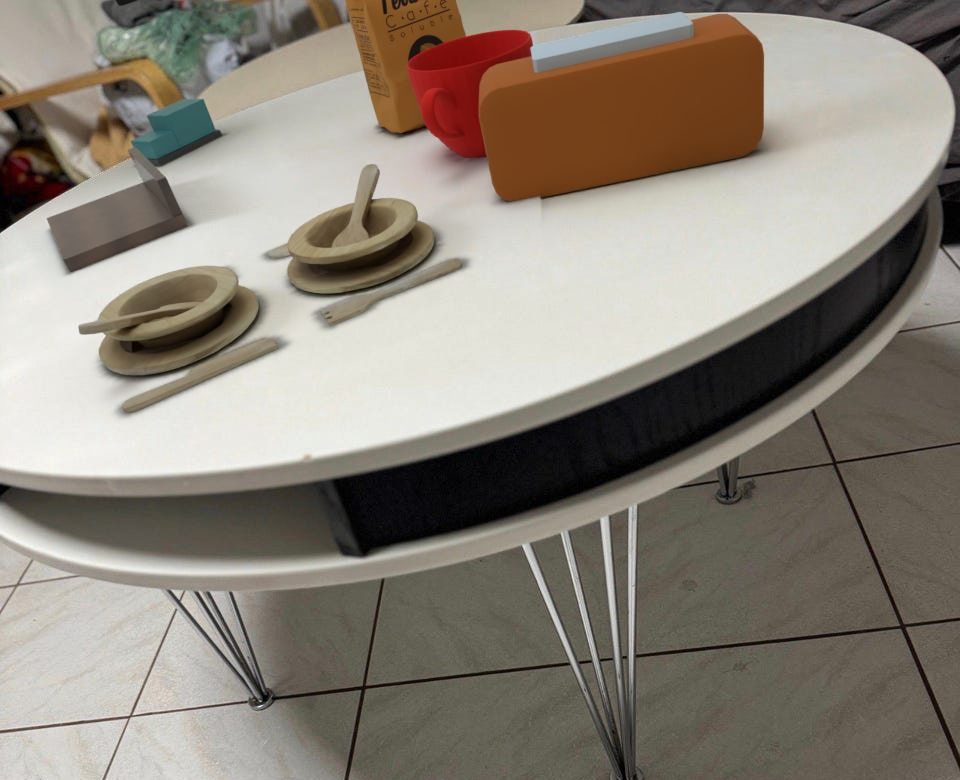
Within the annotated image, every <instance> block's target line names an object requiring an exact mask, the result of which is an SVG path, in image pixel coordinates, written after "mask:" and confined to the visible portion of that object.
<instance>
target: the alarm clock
mask: <svg viewBox="0 0 960 780" xmlns="http://www.w3.org/2000/svg"><path fill="white" fill-rule="evenodd" d="M530 49H531V55H532V56H531V57H526V58H522V59H517V60H513V61H509V62H504V63H500V64H496V65H494V66H492V67H490V68H489V69H488V70H487V71H486V72H485V73H484V74H483V76H482V79H481V81H480V87H479V121H480V126H481V131H482V136H483V140H484V145H485V150H486V155H487V156H486V160H487V164H488V169H489V170H488V171H489V174H490V179H491V184H492V187H493V189H494V192H495V193H496V194H497V196H499V197H500V198H501V199H502V200H505V201H507V202H515V201H520V200H525V199H531V198H535V197H540V198H547V197H551V196H557V195H561V194H567V193H571V192H576V191H581V190H585V189H591V188H595V187H600V186H606V185H610V184H615V183H621V182H625V181H630V180H635V179H641V178H645V177H649V176H654V175H660V174H665V173H669V172H675V171H679V170H680V171H681V170H685V169H690V168H694V167H699V166H704V165H709V164H715V163H719V162H723V161H728V160H734V159H739V158H741V157H744V156H747V155H749V154H750V153H751V152H753V151H754V150H756V148H757V147H758V145H759V144H760V142H761V140H762V138H763V135H764V130H765V129H764V128H765V52H764V47H763V43H762V42H761V41H760V39H759V38H758V37H757V35H756V34H755V33H753V32H752V31H751V30H749V28H747V26H746V25H744V24H743V23H742V22H741V21H740V20H738V19H737V18H736V17H735V16H733V15H730V14H728V13H716V14H710V15H706V16H701V17H698V18H693V19H690V18H689V17H688V15H686V13H684V12H683V11H676V12H671V13H668V14H663V15H659V16H655V17H650V18H646V19H642V20H637V21H633V22H628V23H625V24H620V25H616V26H611V27H607V28H602V29H598V30H593V31H589V32H585V33H580V34H576V35H572V36H568V37H563V38H560V39H554V40H550V41H546V42H541V43H538V44H533V46H532V47H531V48H530Z"/></svg>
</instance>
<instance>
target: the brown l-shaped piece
mask: <svg viewBox="0 0 960 780" xmlns="http://www.w3.org/2000/svg"><path fill="white" fill-rule="evenodd" d="M127 152H128V154H129V156H130V158H131V160H132V162H133V164H134V167H135V169H136V171H137V173H138V175H139V177H140V179H141V181H142V182H140V183H137V184H134V185H132V186H129V187H126V188H123V189H121V190H119V191H116V192H113V193H110V194H107V195H105V196H101V197H99V198H98V199H94V200H92V201H88V202H86V203H83V204H80V205H78V206H76V207H72V208H70V209H67V210H64V211H62V212H60V213H59V212H58V213H57V214H54V215H51V216H48V217H46V221H47V223H48V225H49V228H50V231H51V233H52V236H53V238H54V241H55V243H56V246H57V248H58V250H59V253H60V255H61V259H62V260H63V262H64V264H65V266H66V267H67V269H68V271H69V273H73V272H75V271H78V270H81V269H83V268H86V267H89V266H91V265H93V264H96V263H98V262H101V261H103V260H106V259H109V258H111V257H113V256H117V255H119V254H122V253H124V252H126V251H128V250H131V249H134V248H137V247H139V246H142V245H144V244H146V243H150V242H152V241H154V240H156V239H159V238H161V237H164V236H167V235H170V234H172V233H175V232H177V231H180V230H182V229H185V228H187V227H189V225H188V223H187V220H186V219H185V215H184V213H183V212H182V209H181V207H180V205H179V203H178V201H177V198H176V196H175V194H174V191H173V189H172V187H171V185H170V183H169V181H168V178H167V177H166V176H165V175H164V174H163V173H162V172H161V171H160V170H159V169H158V168H157V166H154V165H153V164H152V163H151V162H150V161H149V160H148V159H147V158H146V157H145V156H144V155H143V154H142V153H141V152H140V151H139V150H138V149H137V148H136V147H132V148H129V149H127Z"/></svg>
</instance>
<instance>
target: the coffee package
mask: <svg viewBox="0 0 960 780" xmlns="http://www.w3.org/2000/svg"><path fill="white" fill-rule="evenodd" d="M344 1H345V2H344V3H345V5H346V10H347V13H348V18H349V22H350V25H351V28H352V31H353V34H354V38H355V42H356V46H357V50H358V53H359V57H360V61H361V66H362V69H363V73H364V78H365V81H366V85H367V89H368V92H369V96H370V100H371V104H372V107H373V110H374V113H375V117H376V120H377V124H378V126H379V127H380V128H382V129H383V128H385V129H386V130H387V131H389V132H391V133H398V134H403V133H407V132H412V131H415V130H418V129H421V128H424V127H426V125H425V122H424V120H423V117H422V112H421V110H420V107H419V105H418V102H417V99H416V97H415V94H414V91H413V88H412V84H411V81H410V78H409V74H408V71H407V63H408V62H409V60H410V59H412V58H413V57H414V56H416V55H418V54H419V53H421V52H423V51H425V50H427V49H429V48H432V47H434V46H437V45H439V44H442V43H445V42H448V41H451V40H455V39H458V38H462V37H466V36H467V33H466V31H465V28H464V24H463V18H462V15H461V13H460V10H459V6H458V3H457V0H344Z"/></svg>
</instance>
